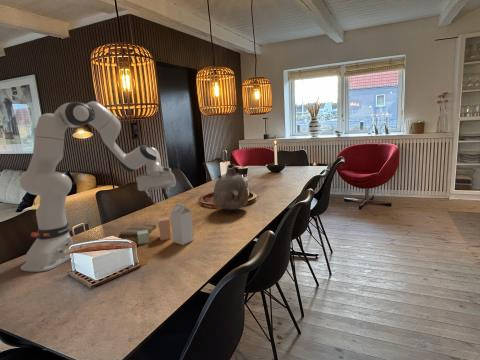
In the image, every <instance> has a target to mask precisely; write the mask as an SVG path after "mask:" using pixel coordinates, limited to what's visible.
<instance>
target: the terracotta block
mask: <svg viewBox="0 0 480 360" xmlns="http://www.w3.org/2000/svg"><path fill="white" fill-rule="evenodd" d="M170 224H171V223H170V218H169V216H164V217H158V218H157V225H158V232H159V233H158V234H159V239H160V241H165V240H171V239H172V235H171V234H172V233H171V225H170Z"/></svg>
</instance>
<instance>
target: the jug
mask: <svg viewBox="0 0 480 360" xmlns="http://www.w3.org/2000/svg"><path fill="white" fill-rule="evenodd" d="M213 200H214V201H213V202H214V204H215V205H214V206H215V207H217V208H220V209H225V210H228V211H230V212H231V211H232V212H234V211H235V210H237V209H240V208H243V207H244V206H246V205H247V204H248V202H249V190H248V186H247V183H246V181H245V179H244V178H243V177H242V176H241V175H239V174H237V172H236V165H235V163H231V164H227V167H226V173H224V174H218V176H217V179H216V182H215V183H214V189H213Z"/></svg>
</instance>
